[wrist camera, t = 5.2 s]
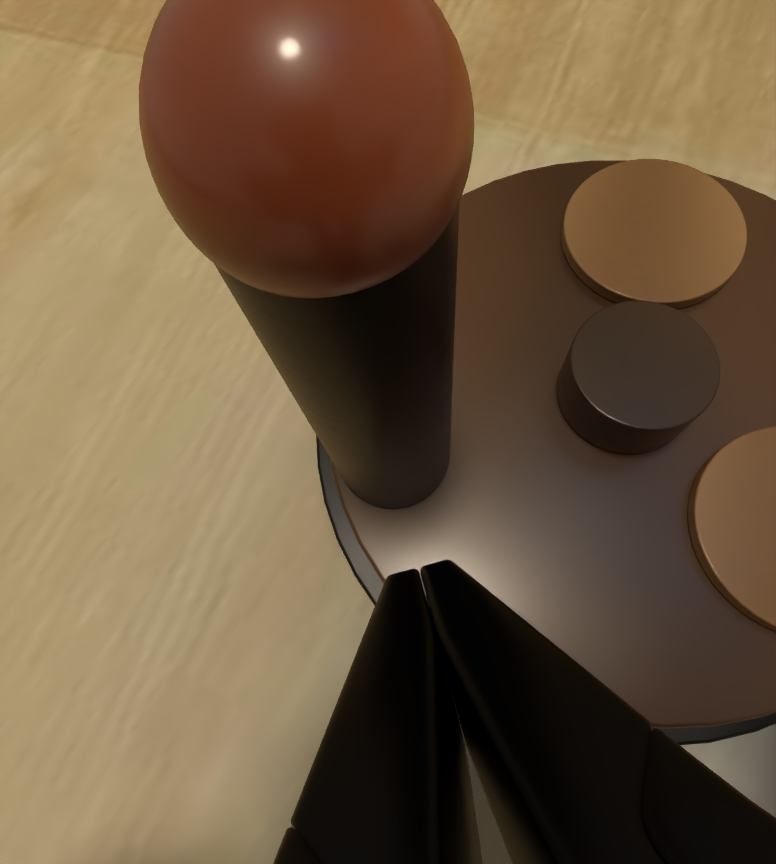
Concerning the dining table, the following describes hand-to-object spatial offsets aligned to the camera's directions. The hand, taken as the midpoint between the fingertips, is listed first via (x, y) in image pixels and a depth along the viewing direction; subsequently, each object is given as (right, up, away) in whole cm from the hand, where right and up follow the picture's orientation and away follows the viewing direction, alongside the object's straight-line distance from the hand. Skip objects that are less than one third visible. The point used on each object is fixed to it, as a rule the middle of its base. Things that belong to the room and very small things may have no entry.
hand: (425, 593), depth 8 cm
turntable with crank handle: (+5, +3, +7) cm, 9 cm away
